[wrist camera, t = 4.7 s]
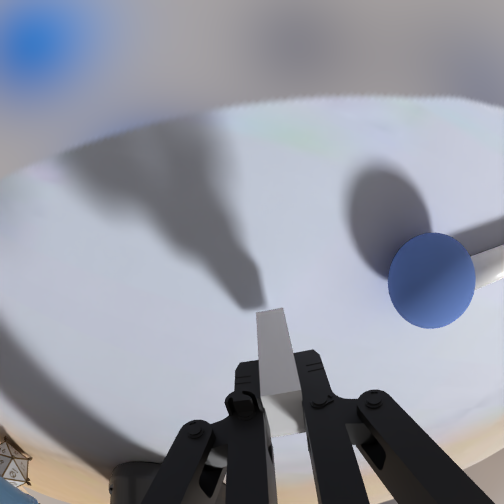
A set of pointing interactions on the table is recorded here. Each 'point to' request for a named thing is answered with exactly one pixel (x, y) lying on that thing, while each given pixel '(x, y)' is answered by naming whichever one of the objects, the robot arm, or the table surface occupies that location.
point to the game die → (13, 465)
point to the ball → (431, 280)
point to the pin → (488, 266)
